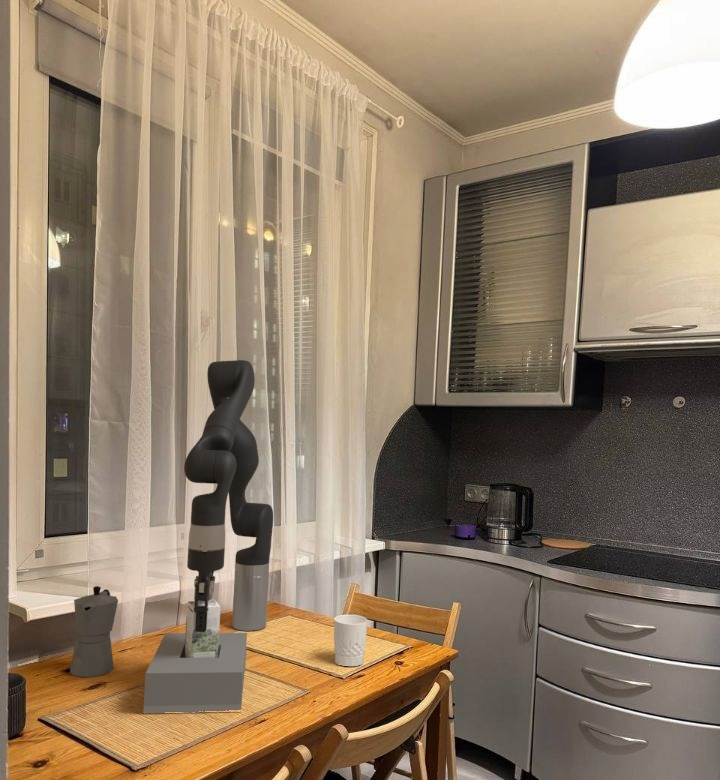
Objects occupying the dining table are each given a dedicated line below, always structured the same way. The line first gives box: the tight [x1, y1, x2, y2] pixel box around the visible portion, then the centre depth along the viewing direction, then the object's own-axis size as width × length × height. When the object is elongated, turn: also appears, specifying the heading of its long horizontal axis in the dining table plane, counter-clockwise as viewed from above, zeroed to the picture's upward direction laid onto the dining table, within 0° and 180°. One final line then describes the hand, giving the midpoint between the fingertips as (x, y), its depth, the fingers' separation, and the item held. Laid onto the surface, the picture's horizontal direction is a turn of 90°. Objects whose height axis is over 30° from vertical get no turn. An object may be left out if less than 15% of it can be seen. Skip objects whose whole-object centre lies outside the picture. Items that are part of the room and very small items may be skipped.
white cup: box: [333, 614, 368, 667], centre depth 154 cm, size 8×8×10 cm
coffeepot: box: [69, 585, 119, 678], centre depth 144 cm, size 15×9×18 cm, turn 5°
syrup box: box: [184, 598, 221, 658], centre depth 136 cm, size 6×6×14 cm
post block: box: [142, 632, 248, 714], centre depth 135 cm, size 24×18×8 cm
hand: (202, 625), depth 136 cm, fingers open, 7 cm apart
